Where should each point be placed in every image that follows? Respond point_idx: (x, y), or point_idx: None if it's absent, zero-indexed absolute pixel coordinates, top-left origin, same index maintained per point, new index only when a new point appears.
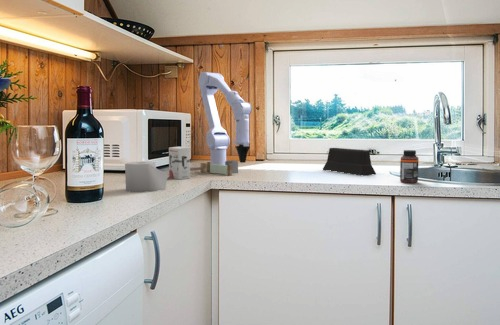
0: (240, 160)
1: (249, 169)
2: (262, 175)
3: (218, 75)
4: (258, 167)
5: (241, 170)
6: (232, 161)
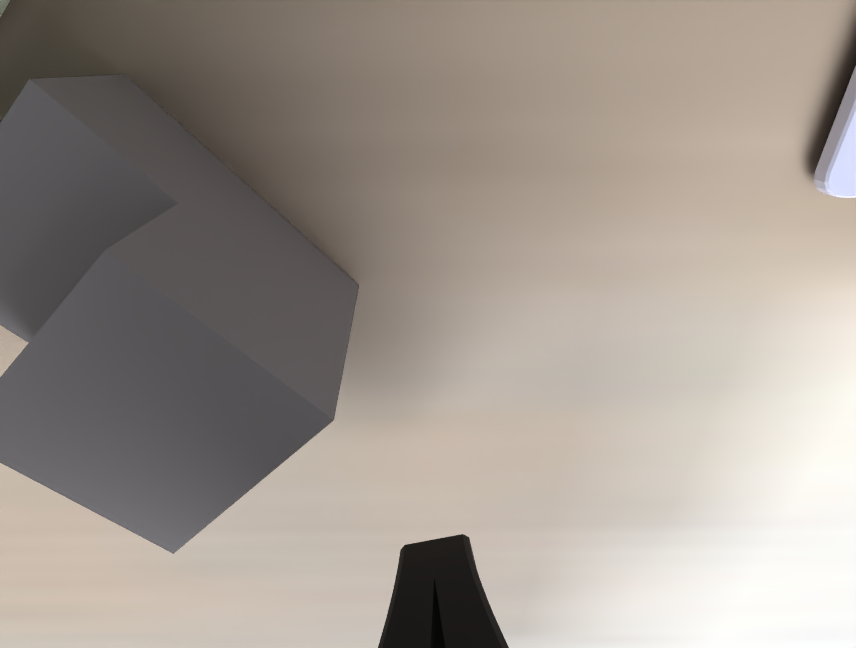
0: (395, 585)
1: (665, 514)
2: (17, 630)
3: None
4: (850, 593)
5: (567, 426)
6: (74, 451)
